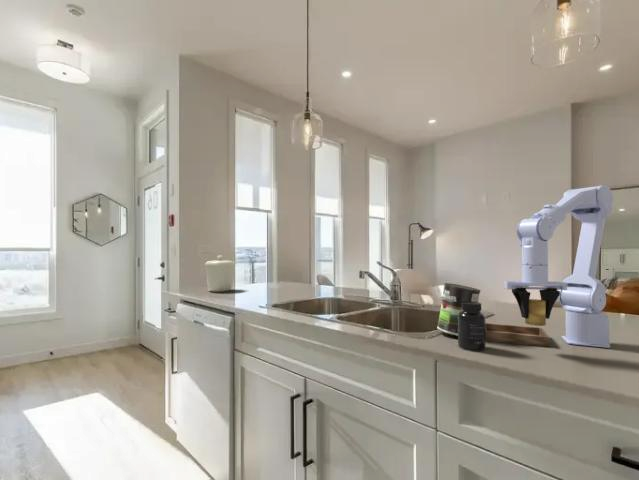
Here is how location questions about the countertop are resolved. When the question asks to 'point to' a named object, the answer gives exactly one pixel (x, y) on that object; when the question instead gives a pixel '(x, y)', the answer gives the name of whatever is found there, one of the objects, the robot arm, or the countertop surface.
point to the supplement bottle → (471, 327)
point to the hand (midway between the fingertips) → (535, 317)
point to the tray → (517, 335)
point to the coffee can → (454, 306)
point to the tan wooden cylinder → (536, 312)
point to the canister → (219, 274)
